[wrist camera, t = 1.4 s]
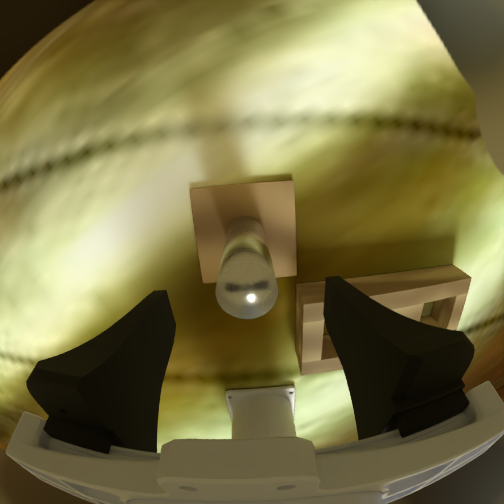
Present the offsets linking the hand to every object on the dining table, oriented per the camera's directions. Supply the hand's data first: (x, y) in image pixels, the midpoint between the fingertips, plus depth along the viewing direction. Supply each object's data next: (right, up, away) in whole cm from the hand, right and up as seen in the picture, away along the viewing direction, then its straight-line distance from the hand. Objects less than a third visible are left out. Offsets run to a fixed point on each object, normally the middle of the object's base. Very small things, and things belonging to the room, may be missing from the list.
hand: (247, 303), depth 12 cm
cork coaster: (0, +4, +10) cm, 11 cm away
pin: (0, +4, +10) cm, 11 cm away
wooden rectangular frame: (+13, -3, +13) cm, 19 cm away
